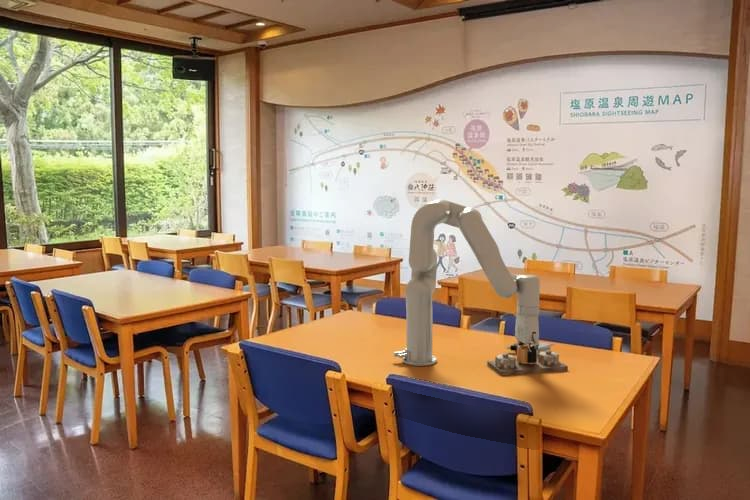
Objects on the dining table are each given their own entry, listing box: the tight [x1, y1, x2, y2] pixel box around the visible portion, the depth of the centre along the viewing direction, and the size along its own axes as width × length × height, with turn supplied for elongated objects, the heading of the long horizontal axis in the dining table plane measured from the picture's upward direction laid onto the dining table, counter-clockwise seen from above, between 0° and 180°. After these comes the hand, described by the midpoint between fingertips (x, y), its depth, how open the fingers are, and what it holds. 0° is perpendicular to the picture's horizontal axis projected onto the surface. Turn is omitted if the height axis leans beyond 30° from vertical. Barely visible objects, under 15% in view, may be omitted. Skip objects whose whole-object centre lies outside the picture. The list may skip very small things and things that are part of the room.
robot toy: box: [506, 341, 555, 357], centre depth 235 cm, size 12×4×15 cm
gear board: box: [486, 349, 569, 376], centre depth 218 cm, size 25×12×6 cm, turn 102°
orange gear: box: [516, 345, 538, 364], centre depth 218 cm, size 7×7×5 cm
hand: (526, 358), depth 218 cm, fingers closed on orange gear, 7 cm apart
